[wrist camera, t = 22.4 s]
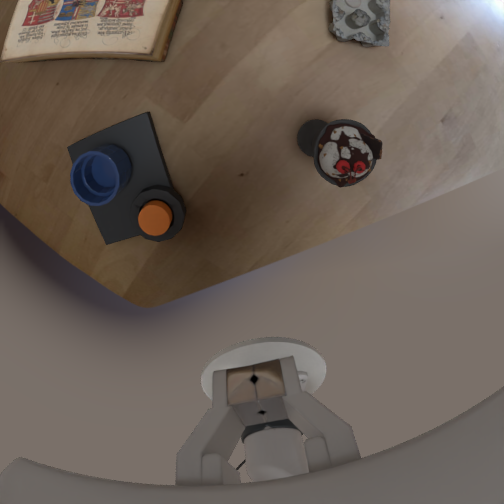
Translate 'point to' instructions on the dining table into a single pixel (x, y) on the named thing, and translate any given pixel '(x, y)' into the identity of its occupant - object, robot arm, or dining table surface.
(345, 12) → the egg carton
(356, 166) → the sundae
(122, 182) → the cup
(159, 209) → the button
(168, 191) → the scale
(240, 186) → the dining table surface
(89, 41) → the book
